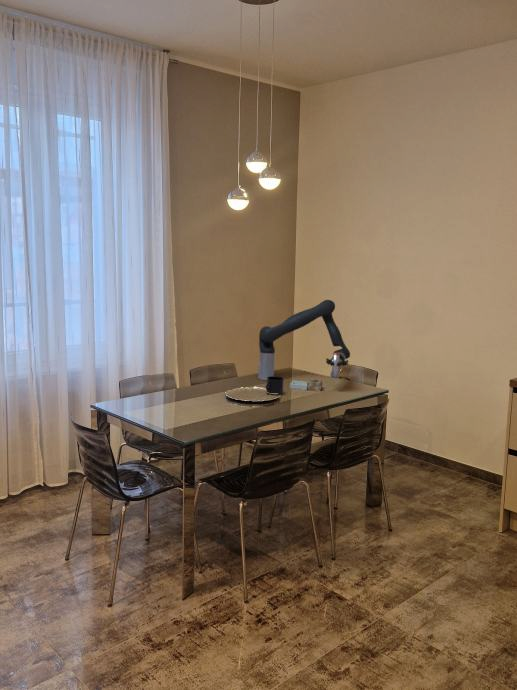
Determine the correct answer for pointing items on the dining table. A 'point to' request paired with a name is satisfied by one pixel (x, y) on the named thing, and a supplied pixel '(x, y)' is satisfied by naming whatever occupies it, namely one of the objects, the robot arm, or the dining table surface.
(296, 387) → the tray
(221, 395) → the dining table surface
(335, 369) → the cylinder
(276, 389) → the mug
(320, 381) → the block
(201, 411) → the dining table surface
